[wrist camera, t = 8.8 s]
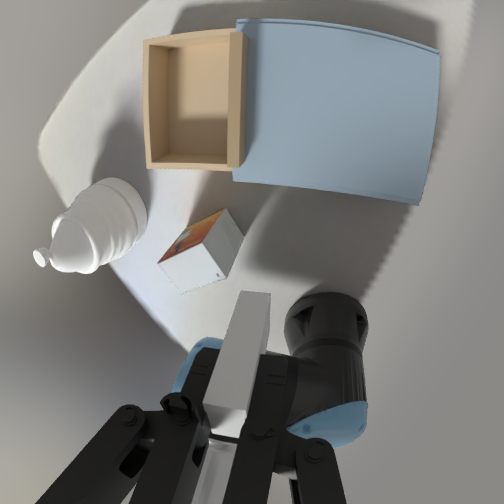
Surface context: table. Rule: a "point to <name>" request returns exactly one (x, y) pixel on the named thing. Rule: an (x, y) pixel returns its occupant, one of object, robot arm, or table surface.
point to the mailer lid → (331, 108)
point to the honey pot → (96, 228)
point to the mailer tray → (186, 100)
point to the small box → (202, 252)
